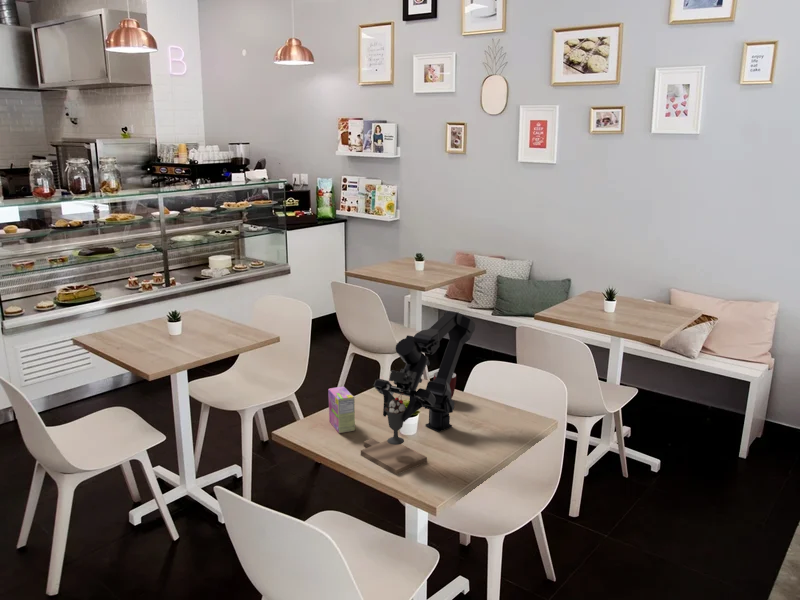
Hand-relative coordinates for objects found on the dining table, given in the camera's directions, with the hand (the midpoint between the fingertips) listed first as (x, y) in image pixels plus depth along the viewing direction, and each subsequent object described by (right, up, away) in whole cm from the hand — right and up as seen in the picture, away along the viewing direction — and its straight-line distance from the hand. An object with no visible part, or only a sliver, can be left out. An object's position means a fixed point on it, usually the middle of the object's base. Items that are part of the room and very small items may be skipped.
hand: (393, 418), depth 192 cm
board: (-1, -12, +6) cm, 14 cm away
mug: (+17, -3, +47) cm, 50 cm away
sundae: (+1, -7, +3) cm, 8 cm away
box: (-17, -7, +26) cm, 32 cm away
